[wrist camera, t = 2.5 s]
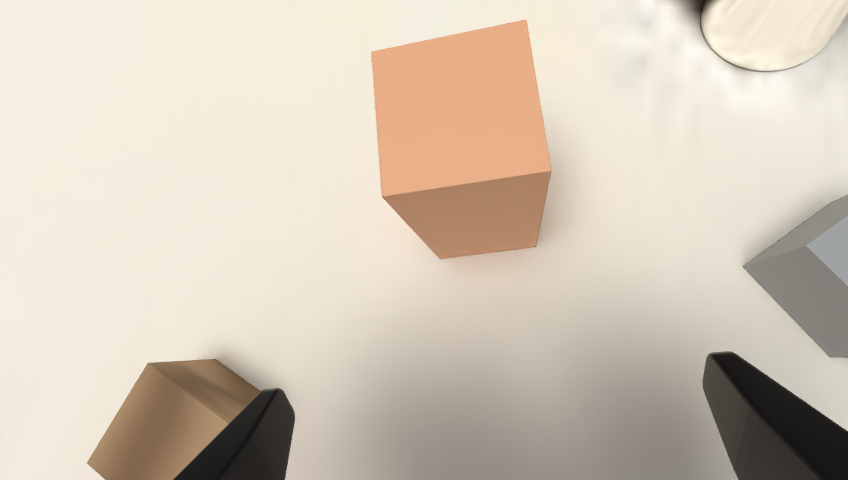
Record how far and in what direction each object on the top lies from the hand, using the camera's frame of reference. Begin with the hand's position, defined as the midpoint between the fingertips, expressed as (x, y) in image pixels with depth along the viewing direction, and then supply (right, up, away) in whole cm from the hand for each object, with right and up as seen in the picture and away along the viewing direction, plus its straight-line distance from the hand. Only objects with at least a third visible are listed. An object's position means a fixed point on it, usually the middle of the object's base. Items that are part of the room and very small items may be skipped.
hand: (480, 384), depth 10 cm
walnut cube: (-12, -7, +15) cm, 20 cm away
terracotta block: (+2, +5, +15) cm, 16 cm away
